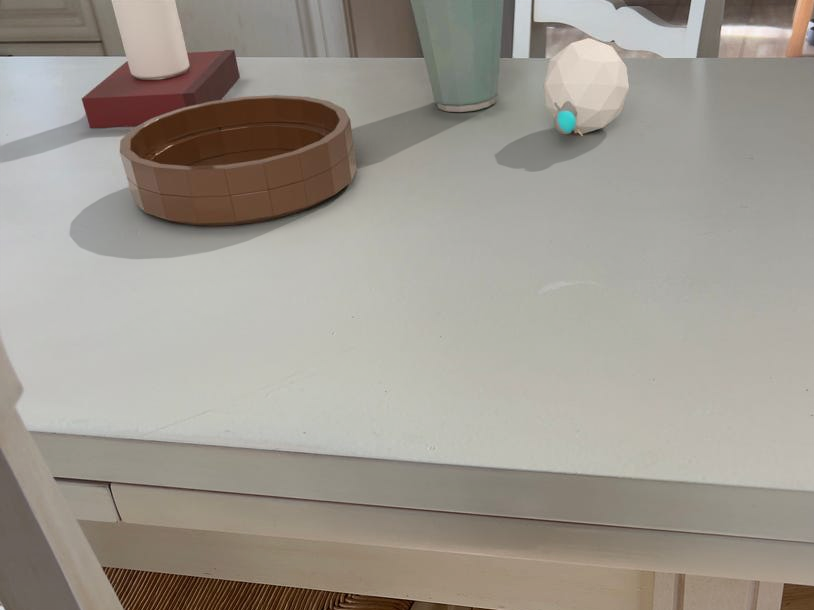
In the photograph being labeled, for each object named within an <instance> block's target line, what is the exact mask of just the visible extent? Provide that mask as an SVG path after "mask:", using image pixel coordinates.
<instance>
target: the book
mask: <svg viewBox="0 0 814 610" xmlns="http://www.w3.org/2000/svg"><path fill="white" fill-rule="evenodd" d="M235 51H236V50H235V49H223V50H213V51H195V52H194V51H193V52H187V55H188V60H189V68H188V70H187V72H186V73H184V74H182V75H179V76H176V77H173V78H168V79H162V80H139V79H136V78H135V77H134V76H133V75H132V74H131V72H130V68H129V65H128V61H127V60H126V61H124V62H123V64H121V65H120V66H119V67H118V68H116V69H115V70H114V71H113V72H112V73H111V74H110V75H108V76H107V77H106V78H104V80H102V81H101V82H100V83H99V84H97V85H96V86H94V88H93V89H91V90H90V91H89V92H88V93H86V94H85V95H84V96H83V97H81V102H82V106H83V108H84V112H85V116H86V119H87V123H88V125H89V129H101V128H117V127H118V128H119V127H120V128H121V127H136V126H138V125H140V124H142V123H144V122H146V121H148V120H150V119H152V118H154V117H157V116H160V115H163V114H166V113H169V112H172V111H174V110H177V109H181V108H184V107H189V106H193V105H197V104H202V103H206V102H211V101H217V100H223V98H224V97H225V96H226V95H227V93H228V92H230V90H231V89H232V88H233V87H234V85H235V84H236V83H237V82H238V81H239V79H240V78H241V76H240V70H239V66H238V60H237V56H236V52H235Z"/></svg>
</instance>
